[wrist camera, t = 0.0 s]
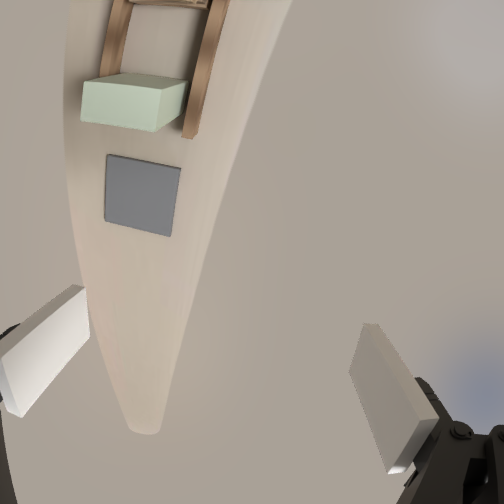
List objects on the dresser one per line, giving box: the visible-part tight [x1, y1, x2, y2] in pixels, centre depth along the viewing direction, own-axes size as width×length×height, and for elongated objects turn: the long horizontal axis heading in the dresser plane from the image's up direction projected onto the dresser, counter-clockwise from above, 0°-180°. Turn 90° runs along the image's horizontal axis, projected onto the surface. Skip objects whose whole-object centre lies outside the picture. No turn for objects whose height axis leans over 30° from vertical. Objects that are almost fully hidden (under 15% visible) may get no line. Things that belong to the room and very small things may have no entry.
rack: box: [99, 0, 230, 139], centre depth 25 cm, size 22×12×10 cm, turn 166°
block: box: [80, 73, 189, 132], centre depth 29 cm, size 4×8×10 cm, turn 76°
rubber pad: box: [105, 154, 181, 237], centre depth 41 cm, size 10×10×1 cm
